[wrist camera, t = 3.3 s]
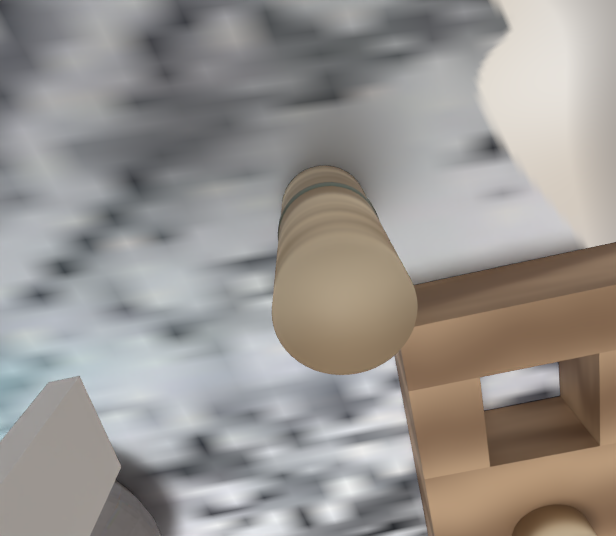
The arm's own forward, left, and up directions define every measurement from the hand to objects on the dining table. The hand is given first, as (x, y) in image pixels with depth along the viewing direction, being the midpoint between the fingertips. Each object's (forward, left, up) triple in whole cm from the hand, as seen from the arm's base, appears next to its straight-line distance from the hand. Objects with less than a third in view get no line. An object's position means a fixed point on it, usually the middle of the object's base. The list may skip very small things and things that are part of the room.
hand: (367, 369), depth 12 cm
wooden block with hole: (+14, +8, -14) cm, 21 cm away
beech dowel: (0, 0, -14) cm, 14 cm away
